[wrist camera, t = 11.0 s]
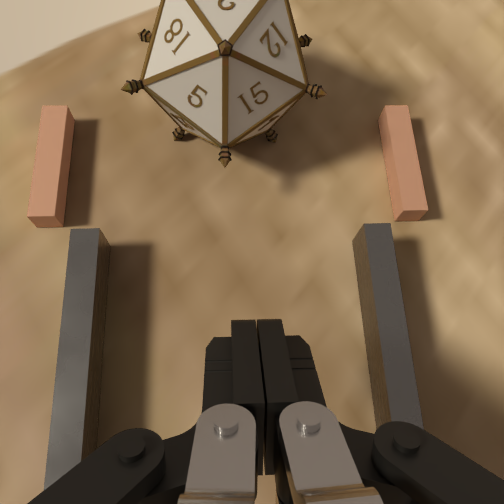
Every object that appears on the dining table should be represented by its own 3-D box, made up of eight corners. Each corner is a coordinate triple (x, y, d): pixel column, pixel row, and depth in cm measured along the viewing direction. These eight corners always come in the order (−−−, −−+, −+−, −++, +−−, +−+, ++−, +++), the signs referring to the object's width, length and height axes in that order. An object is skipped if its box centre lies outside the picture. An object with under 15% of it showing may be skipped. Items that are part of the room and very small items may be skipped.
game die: (192, 152, 28) (68, -3, 21) (310, 66, 27) (218, -124, 20) (232, 238, 21) (71, 53, 15) (390, 129, 20) (292, -122, 14)
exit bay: (399, 119, 25) (407, 105, 24) (418, 220, 23) (428, 210, 22) (51, 120, 24) (42, 105, 23) (37, 227, 22) (26, 216, 21)
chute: (376, 240, 23) (390, 223, 21) (437, 647, 17) (463, 675, 15) (84, 246, 22) (70, 228, 20) (44, 678, 16) (20, 711, 14)
